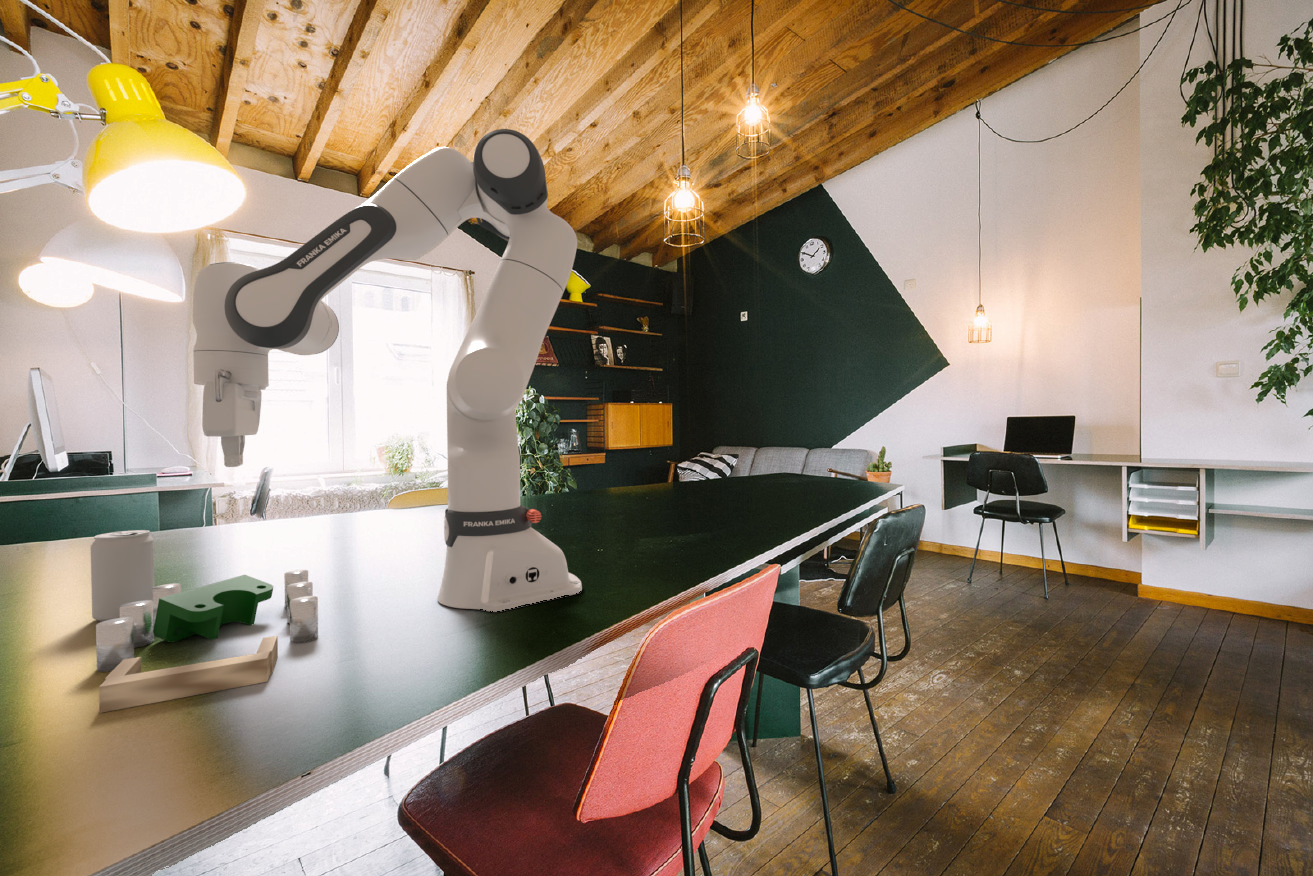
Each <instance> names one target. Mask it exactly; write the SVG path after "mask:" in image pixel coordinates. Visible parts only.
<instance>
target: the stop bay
mask: <svg viewBox="0 0 1313 876" xmlns="http://www.w3.org/2000/svg"><path fill="white" fill-rule="evenodd" d="M278 638H279V637H278V635H273V636H268V637H267V636H266V637H263V638H262V639H261V641H260V644H259V645H258V648H257V651H256V653H252V654H246V655H240V656H233V657H227V658H222V659H216V660H210V661H204V662H197V663H191V664H185V665H180V666H174V667H173V666H172V667H168V668H161V669H155V670H154V669H153V670H149V671H144V672H143V671H142V656H138V657H134V658H130V659H124V660H123V661H122V662H121V663H120V664H119V665H118V666H117V667H116V668H115V669H114V670H113V671H110V672H109V674H108V675H107V676H105V678H104V681H103V682H102V683H101V684H100V685H99V686H98V695H99V696H98V698H99V701H98V702H99V703H98V705H99V714H101V713H107V712H111V711H118V710H122V709H123V710H124V709H129V708H132V707H133V708H134V707H139V706H144V705H151V704H154V703H155V704H156V703H161V702H165V701H170V700H176V699H182V698H187V697H193V696H197V695H203V694H207V693H208V694H209V693H213V692H218V691H225V690H230V689H236V688H239V687H245V686H250V685H256V684H261V683H266V682H268V681H269V678H270V676H271V675H272V674H273V672H274V669H275V666H276V664H277V660H278V655H279V652H278V651H279V650H278V649H279V647H278V641H279V639H278Z"/></svg>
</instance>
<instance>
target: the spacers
mask: <svg viewBox="0 0 1313 876" xmlns="http://www.w3.org/2000/svg"><path fill="white" fill-rule="evenodd" d="M283 575H284V608H285V609H286V612H287V613H286V614H287V615H286V619H287V620H286V621H287V622H286V623H287V624H288V623H289V642H290V643H291V644H303V643H307V642H308V643H309V642H311V641H314V640H316V639H317V638H319V618H318V617H319V608H318V607H319V605H318V604H319V603H318V602H319V600H318V599H319V598H318V596H315V595H313V593H314V592H313V591H314V589H313V585H314V584H313V582H312V581H309V570H308V569H297V570H290V571H286V572H285V573H284V574H283ZM180 592H182V584H181V583H166V584H161V585H157V586H154V587H153V588H152V601H150V600H145V601H136V602H131V603H127V604H124V605H121V606H120V618H116V619H111V620H107V621H103V622H100V621H99V622H98V623H96V625H95V634H96V635H95V636H96V637H95V640H96V641H95V642H96V671H97V672H101V673H102V672H103V673H104V672H105V673H106V672H112V671H113V670H114V669H115V668H116V667H117V666H118V665H119V664H120V663H121V662H122V661H123V660H124V659H130V658H135V649H137V647H138V648H142V647H146V646H148V645H151V644H152V642H153V641H155V635H154V634H153V629H154V624H155V619H156V613H157V608H158V602H159V598H162V597H166V596H170V595H173V594H177V593H180ZM153 643H154V642H153ZM141 646H142V647H141Z"/></svg>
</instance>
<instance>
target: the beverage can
mask: <svg viewBox="0 0 1313 876" xmlns="http://www.w3.org/2000/svg"><path fill="white" fill-rule="evenodd" d="M150 533H151V532H150V530H149V529H148V530H147V529H137V530H136V529H133V530H122V531H112V532H107V533H106V532H105V533H101V534H97V535H95V536H94V537H93V538H94V539H93V540H94V541H93V542H92V544H90V576H91V577H90V579H91V580H90V583H91V586H90V587H91V618H93V619H94V620H96V621H99V623H100V622H103V621H107V620H111V619H116V618H120V606H121V605H124V604H127V603H131V602H136V601H145V600H150V601H152V588H153V587H155V556H154V555H155V554H154V553H155V551H154V538H153V537H152V536H151V535H150Z"/></svg>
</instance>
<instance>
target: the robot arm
mask: <svg viewBox="0 0 1313 876" xmlns="http://www.w3.org/2000/svg"><path fill="white" fill-rule="evenodd" d="M472 159H473V160H472V161H471V160H470V159H468V157H467V156H465V155H464V154H463V153H461V152H460V151H459V150H456V149H455V148H452V147H448V146H440V147H436V148H434V149H432V150H431V151H429V152H428V153H426V154H424V155H422V156H420V157H419V158H417V159H416V160H414V161H413V162H412V163H410V164H409V165H407V166H406V167H405V168H403V169H402V170H401V171H400V172H398V173H397V174H396V175H395V176H393V178H391V179H390V180H389V181H388V182H387V183H386V184H385V185H383V186H382V187H381V188H379V190H378V191H377V192H376V193H374V194H373V195H372V196H371V197H369V198H368V199H367V200H366V201H365V202H363V203H362V204H359V206H356V207H355V208H353V209H351V210H350V211H349V212H346V213H345V214H343V215H342V216H341V217H339V218H338V219H336V220H335V221H334V222H332V223H331V224H329V225H328V226H327V227H325V229H322V230H321V231H320V232H318V233H317V234H316V235H314V237H312V238H311V239H309V240H308V241H307V242H305V243H304V244H303V245H301V246H300V247H299V248H297V249H296V250H295V251H294V252H292V253H291V254H289V255H288V256H286V258H284V259H282V260H281V261H279V262H277V263H275V264H272V265H270V266H267V267H264V268H261V269H260V268H258V267H257V266H255V265H252V264H248V263H243V262H235V261H233V262H232V261H226V262H225V261H224V262H215V263H211V264H209V265H206V266H204V267H202V268H201V269H200V270H199V271H198V272H197V275H196V278H195V281H194V285H193V297H192V323H193V326H194V329H195V332H196V333H195V334H196V338H195V343H194V346H193V350H192V352H193V355H192V357H193V384H194V385H198V386H203V393H202V419H201V420H202V421H201V426H202V427H201V428H202V432H203V435H204V436H205V437H216V438H218V437H220V443H221V444H220V445H221V449H222V453H223V459H224V460H223V462H224V466H225V467H227V468H237V467H240V466H242V465H243V464H244V450H245V444H246V436H254V435H255V436H256V435H257V433H258V431H259V426H260V419H261V408H262V395H263V394H262V393H263V392H262V391H264V390H266V389H267V388H268V387H269V385H270V384H269V381H270V380H269V352H270V351H272V350H279V351H281V352H285V353H290V354H293V355H298V356H311V355H318V354H321V353H324V352H325V351H327V350H328V349H330V348H331V347H333V345H334V344H335V342H336V340H337V339H338V336H339V331H340V326H339V320H338V317H337V314H336V313H335V311H334V309H332V308H331V307H330V306H329V305H328V304H327V303H325V302H324V301H323V299H324V298H326V296H327V295H329V294H330V293H331V292H332V291H333V290H335V289H336V288H337V287H338V286H340V285H341V284H343V283H344V282H345V281H346V280H347V279H348V278H350V277H351V276H352V275H354V273H356V272H357V271H358V270H360V269H361V268H362V267H364V266H366V265H367V264H369V263H372V262H374V261H378V260H385V259H390V260H391V259H392V260H393V259H395V260H399V261H400V260H401V261H416V260H418V259H420V258H422V257H424V256H426V255H427V254H428V253H429V254H430V252H431V251H433V250H434V249H436V248H437V247H438V246H440V244H442V243H443V242H444V241H445V240H446V239H447V238H448V237H449V236H450V235H451V234H452V233H453V232H455V230H456V229H457V228H458V227H459V226H461V224H463V223H464V222H466V221H468V220H470V219H475V218H476V221H477V223H478V225H479V226H480V227H481V228H484V229H485V230H487V231H490V232H492V233H493V234H495V235H497V236H498V237H500V238H501V239H503V240H505V241H506V242H507V245H506V248H505V250H504V251H503V254H502V256H501V258H500V260H499V263H498V265H497V267H496V269H495V271H494V274H493V276H492V278H491V280H490V283H489V285H488V287H487V289H486V291H485V293H484V296H483V297H482V300H481V302H480V305H479V307H478V309H477V311H476V313H475V315H474V318H473V320H472V321H471V323H470V326H469V328H468V329H467V332H466V334H465V336H464V339H463V341H462V343H461V345H460V348H459V349H458V351H457V354H456V356H455V357H454V360H453V362H452V365H451V367H450V369H449V372H448V378H447V382H446V428H447V429H446V431H447V433H446V435H447V436H446V437H447V439H446V440H447V449H446V450H447V508H445V511H444V517H443V519H444V520H443V522H444V523H443V524H444V525H443V529H444V530H443V531H444V532H443V533H444V541H445V545H446V553H445V555H446V556H445V561H444V569H443V576H442V580H441V583H440V588H439V592H438V595H437V597H436V600H437V601H438V603H440V604H442V605H444V606H446V607H450V608H456V609H466V610H468V609H469V610H470V609H471V610H480V609H483V610H482V611H485V610H486V611H485V612H490V611H491V612H492V611H493V612H492V613H498V612H497V611H500V612H503V611H502V610H504V611H506V610H505V609H509V610H512V609H511V608H513V609H516V608H515V607H517V608H519V607H518V606H521V605H525V604H530V605H533V604H532V603H534V604H537V603H536V602H539V603H541V602H540V601H543V600H547V601H551V600H550V599H552V600H555V599H554V598H556V599H558V598H557V597H560V598H562V597H561V596H564V595H569V596H573V595H577V594H580V593H581V592H582V590H583V585H582V581H581V579H580V578H578V576H577V575H575V574H573V573H571V572H569V569H568V563H567V559H566V556H565V554H564V552H563V550H562V548H560V547H559V546H558V545H557V544H555V543H554V542H552V541H551V540H550V539H548V538H547V537H545V536H544V535H543V534H541V533H540V532H539V531H537V530H536V529H534V528H533V527H532V525H533V524H537V523H539V522H540V520H542V517H543V516H542V513H541V512H540V511H539V510H537V509H535V508H531V509H530V508H527V507H526V506H523V505H522V504H521V456H520V447H519V440H518V430H517V429H518V426H517V418H516V417H517V416H516V414H517V413H516V411H517V410H516V408H518V406H519V404H520V403H521V402H522V399H523V397H524V394H525V392H526V389H527V387H528V385H529V382H530V379H531V376H532V374H533V372H534V368H535V365H536V363H537V360H538V357H539V354H540V352H541V348H542V345H543V342H544V339H545V337H546V334H547V332H548V330H549V328H550V324H551V322H552V320H553V318H554V316H555V313H556V311H557V309H558V306H559V304H560V301H561V299H562V297H563V294H564V292H565V290H566V287H567V285H568V282H569V279H570V277H571V273H572V271H573V267H574V263H575V259H576V253H577V249H578V237H577V234H576V232H575V230H574V229H573V227H572V226H571V225H570V224H569V223H568V222H567V221H566V220H565V219H564V218H562V217H561V216H558V215H557V214H555V213H553V212H552V211H551V210H550V209H549V208H548V206H549V205H548V202H549V200H548V198H549V197H548V196H549V192H548V191H549V190H548V183H547V178H546V169H545V168H546V167H545V165H544V162H543V159H542V157H541V154H540V152H539V150H538V149H537V147H536V145H535V144H534V143H533V142H532V140H531V139H530V138H528V136H526V135H525V134H524V133H521V132H520V131H517V130H514V129H510V128H509V129H508V128H499V129H495V130H492V131H490V132H488V133H487V134H485V135H483V137H481V139H480V140H479V141H478V142H477V144H476V147H475V148H474V153H473V158H472ZM580 591H581V592H580ZM579 592H580V593H579ZM576 593H577V594H576ZM543 602H544V601H543ZM521 607H522V606H521Z"/></svg>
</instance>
